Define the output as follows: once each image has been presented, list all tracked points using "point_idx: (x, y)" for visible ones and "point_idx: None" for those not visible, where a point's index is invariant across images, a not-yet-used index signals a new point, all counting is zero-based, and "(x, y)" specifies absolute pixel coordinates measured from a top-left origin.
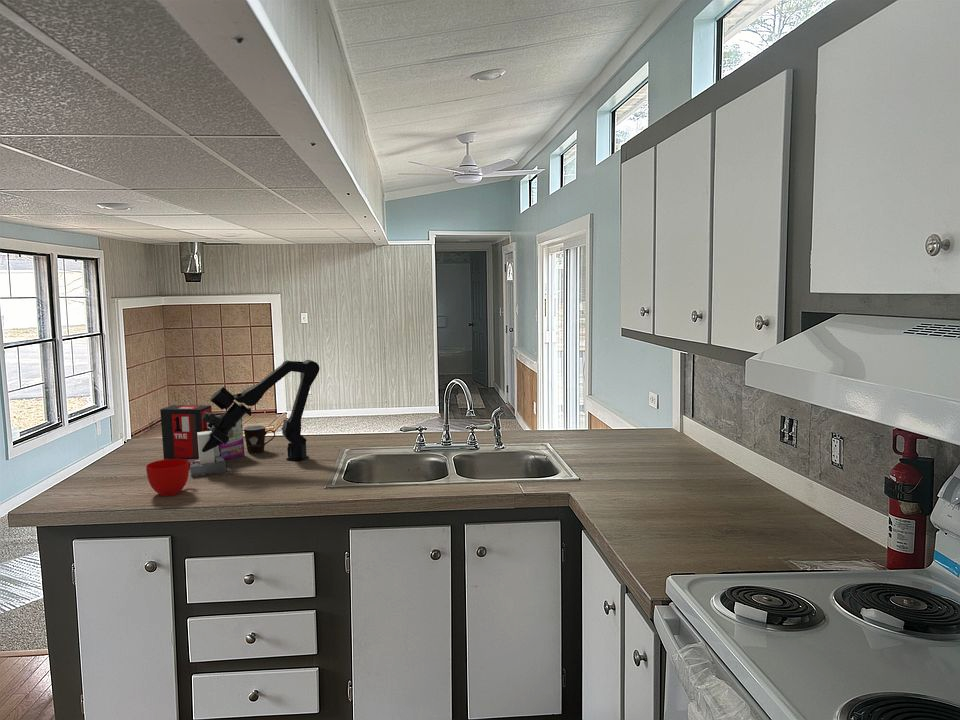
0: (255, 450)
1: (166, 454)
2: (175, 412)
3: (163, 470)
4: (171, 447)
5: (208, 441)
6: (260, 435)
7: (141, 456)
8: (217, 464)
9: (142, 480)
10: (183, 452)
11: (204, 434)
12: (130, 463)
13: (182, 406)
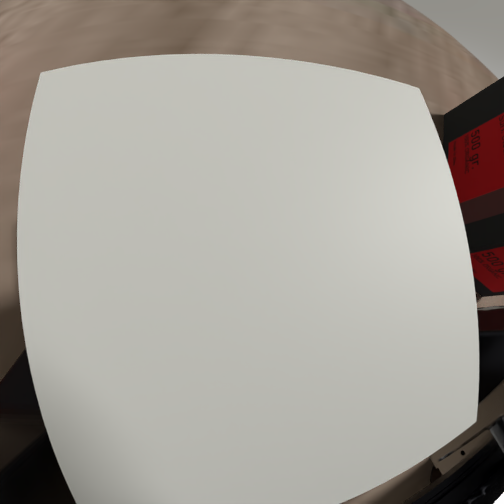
0: (439, 476)
1: (455, 115)
2: None
3: None
4: (476, 118)
5: (17, 365)
6: None
7: (458, 76)
8: None
9: (139, 16)
10: (462, 165)
11: (19, 281)
12: (398, 32)
13: None
